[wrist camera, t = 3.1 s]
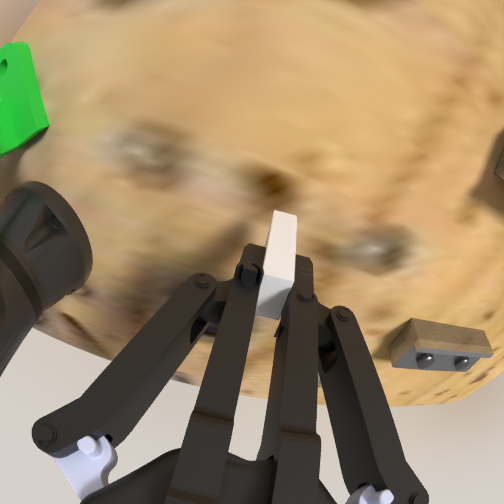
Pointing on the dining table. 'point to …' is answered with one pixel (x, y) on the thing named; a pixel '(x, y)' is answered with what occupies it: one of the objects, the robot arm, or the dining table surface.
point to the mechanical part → (19, 98)
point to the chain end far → (438, 347)
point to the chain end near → (500, 167)
